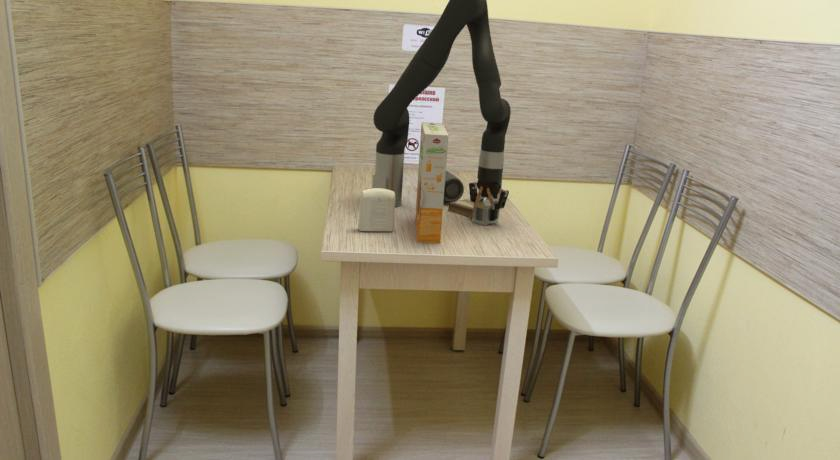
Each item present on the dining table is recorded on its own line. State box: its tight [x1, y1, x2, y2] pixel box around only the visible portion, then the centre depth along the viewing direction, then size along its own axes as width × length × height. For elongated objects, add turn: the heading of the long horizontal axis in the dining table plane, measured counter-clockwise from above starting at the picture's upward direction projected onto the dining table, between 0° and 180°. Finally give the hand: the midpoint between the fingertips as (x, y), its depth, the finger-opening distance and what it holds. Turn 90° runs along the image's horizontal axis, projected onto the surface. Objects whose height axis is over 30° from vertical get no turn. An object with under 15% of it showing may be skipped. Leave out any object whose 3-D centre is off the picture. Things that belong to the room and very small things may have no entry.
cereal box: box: [414, 121, 449, 244], centre depth 193 cm, size 22×6×30 cm, turn 2°
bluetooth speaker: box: [443, 170, 465, 203], centre depth 236 cm, size 23×9×10 cm, turn 20°
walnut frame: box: [447, 197, 474, 218], centre depth 221 cm, size 11×11×3 cm
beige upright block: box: [358, 188, 396, 232], centre depth 193 cm, size 10×4×12 cm, turn 103°
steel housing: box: [471, 199, 501, 226], centre depth 210 cm, size 7×5×6 cm
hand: (485, 218), depth 210 cm, fingers closed on steel housing, 5 cm apart
